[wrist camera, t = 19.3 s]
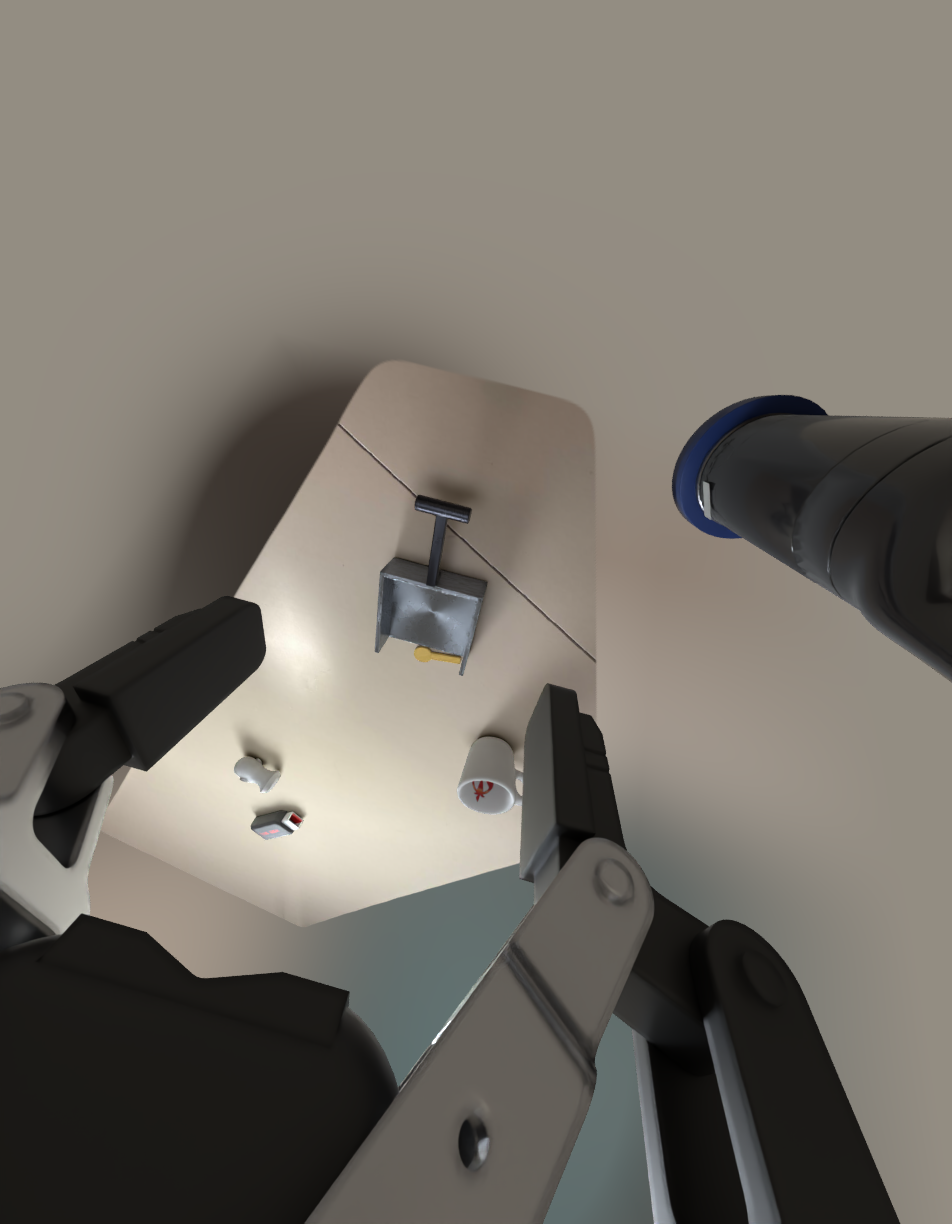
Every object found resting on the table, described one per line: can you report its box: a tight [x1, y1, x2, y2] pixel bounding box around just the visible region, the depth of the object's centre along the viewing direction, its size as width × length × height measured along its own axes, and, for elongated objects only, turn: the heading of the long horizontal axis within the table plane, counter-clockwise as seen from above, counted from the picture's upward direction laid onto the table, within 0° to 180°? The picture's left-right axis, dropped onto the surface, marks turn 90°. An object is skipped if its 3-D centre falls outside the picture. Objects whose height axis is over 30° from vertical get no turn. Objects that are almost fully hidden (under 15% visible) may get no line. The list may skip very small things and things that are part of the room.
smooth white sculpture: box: [234, 757, 281, 793], centre depth 64 cm, size 4×8×5 cm
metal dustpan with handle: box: [375, 495, 488, 676], centre depth 38 cm, size 11×20×5 cm, turn 168°
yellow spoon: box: [414, 646, 461, 664], centre depth 45 cm, size 6×2×1 cm, turn 86°
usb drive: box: [251, 811, 304, 840], centre depth 74 cm, size 5×12×3 cm, turn 122°
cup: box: [457, 737, 523, 814], centre depth 50 cm, size 11×8×8 cm
